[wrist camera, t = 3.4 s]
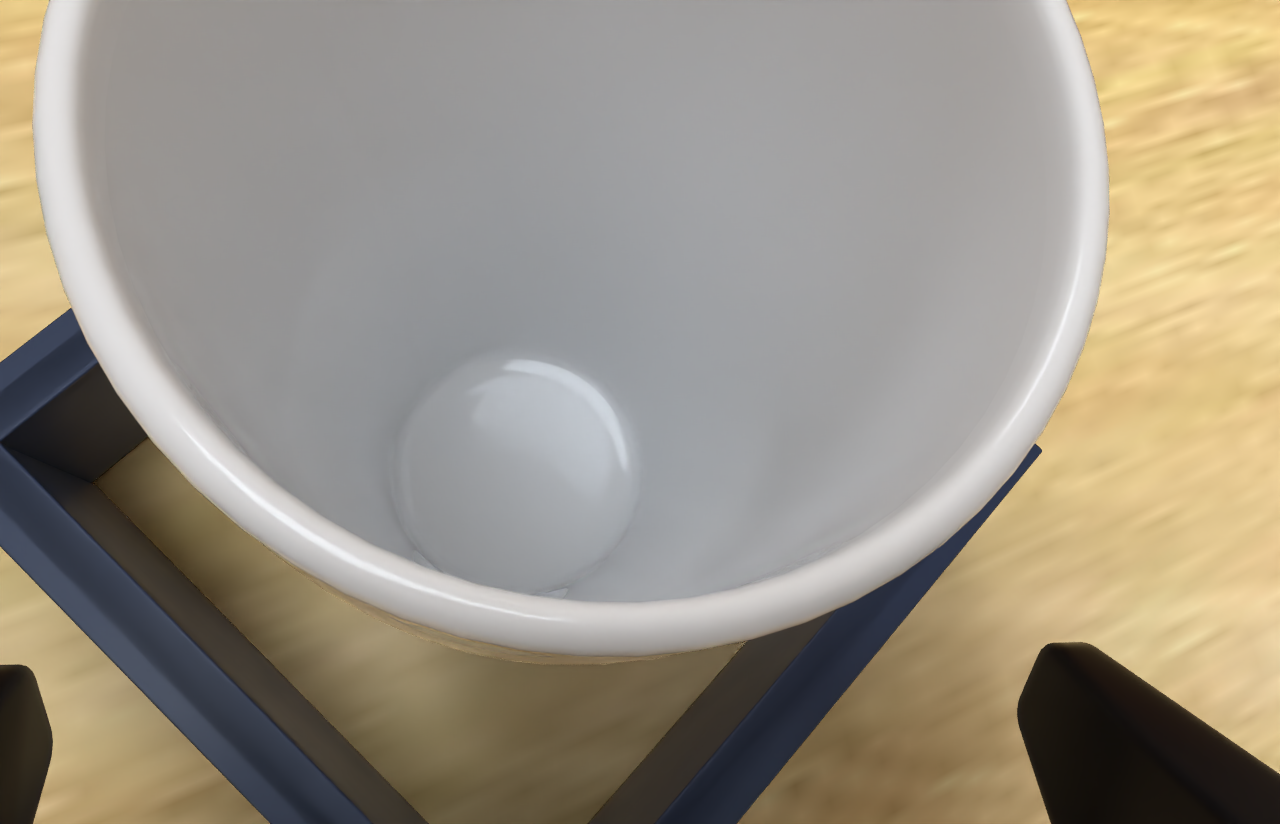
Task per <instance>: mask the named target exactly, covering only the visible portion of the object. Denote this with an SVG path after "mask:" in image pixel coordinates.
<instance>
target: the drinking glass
mask: <svg viewBox="0 0 1280 824" xmlns="http://www.w3.org/2000/svg"><path fill="white" fill-rule="evenodd" d="M32 129H33V143H34V157H35V171H36V182H37V188H38V193H39V198H40V203H41V209H42V214H43V219H44V224H45V230H46V235H47V238H48V241H49V245H50V248H51V251H52V254H53V257H54V261H55V264H56V267H57V270H58V273H59V277H60V280H61V283H62V286H63V289H64V292H65V294H66V296H67V299H68V301H69V303H70V305H71V308H72V310H73V312H74V314H75V317H76V319H77V321H78V323H79V326H80V328H81V330H82V332H83V335H84V337H85V339H86V341H87V344H88V345H89V347H90V349H91V351H92V352H93V354H94V356H95V357H96V359H97V361H98V363H99V364H100V366H101V368H102V369H103V371H104V373H105V375H106V376H107V378H108V380H109V381H110V383H111V385H112V386H113V388H114V390H115V392H116V393H117V395H118V396H119V398H120V399H121V400H122V402H123V403H124V404H125V406H126V407H127V408H128V410H129V411H130V413H131V414H132V415H133V417H134V418H135V419H136V421H137V422H138V423H139V425H140V426H141V427H142V429H143V430H144V431H145V433H146V434H147V435H148V437H149V438H150V439H151V441H152V442H153V443H154V445H155V446H156V447H157V448H158V449H159V450H160V451H161V452H162V453H163V454H164V455H165V456H166V458H167V459H168V460H169V461H170V462H171V463H172V464H173V465H174V466H175V467H176V468H177V469H178V471H179V472H180V473H181V474H182V475H183V476H184V477H185V478H186V479H187V480H188V481H189V482H190V484H191V485H192V486H193V487H194V488H195V489H196V490H197V491H199V492H200V493H201V494H202V495H203V496H204V497H205V498H207V499H208V500H209V501H210V502H211V503H212V504H213V505H215V506H216V507H217V508H218V509H219V510H220V511H221V512H223V513H224V514H225V515H226V516H227V517H228V518H229V519H231V520H232V521H233V522H234V523H235V524H236V525H237V526H239V527H240V528H241V529H242V530H244V531H245V532H247V533H248V534H249V535H251V536H252V537H254V538H255V539H256V540H258V541H259V542H260V543H262V544H263V545H264V546H265V547H266V548H267V549H268V550H270V551H271V552H272V553H273V554H275V555H276V556H277V557H278V558H280V559H281V560H282V561H284V562H285V563H287V564H288V565H289V566H291V567H292V568H294V569H295V570H297V571H298V572H299V573H301V574H302V575H304V576H305V577H306V578H308V579H309V580H311V581H312V582H314V583H315V584H316V585H318V586H319V587H321V588H322V589H323V590H325V591H326V592H328V593H330V594H331V595H333V596H335V597H337V598H339V599H340V600H342V601H344V602H346V603H347V604H349V605H351V606H353V607H355V608H356V609H358V610H360V611H362V612H363V613H365V614H367V615H369V616H371V617H372V618H374V619H376V620H378V621H381V622H383V623H385V624H388V625H390V626H392V627H395V628H397V629H399V630H402V631H404V632H406V633H408V634H411V635H413V636H415V637H418V638H421V639H424V640H427V641H431V642H434V643H437V644H440V645H443V646H446V647H449V648H453V649H456V650H459V651H463V652H468V653H473V654H477V655H482V656H487V657H492V658H497V659H501V660H508V661H518V662H527V663H537V664H546V665H602V664H612V663H622V662H632V661H642V660H651V659H657V658H662V657H667V656H672V655H677V654H682V653H687V652H693V651H699V650H704V649H709V648H714V647H719V646H724V645H729V644H734V643H739V642H744V641H748V640H753V639H756V638H759V637H762V636H765V635H769V634H772V633H775V632H778V631H781V630H784V629H788V628H791V627H794V626H797V625H800V624H803V623H806V622H808V621H811V620H813V619H815V618H817V617H820V616H822V615H824V614H827V613H829V612H831V611H833V610H836V609H838V608H840V607H843V606H845V605H847V604H849V603H852V602H854V601H856V600H858V599H859V598H861V597H863V596H865V595H867V594H868V593H870V592H872V591H874V590H875V589H877V588H879V587H881V586H882V585H884V584H886V583H888V582H889V581H891V580H893V579H895V578H896V577H898V576H900V575H901V574H903V573H904V572H905V571H907V570H908V569H910V568H911V567H912V566H914V565H915V564H917V563H918V562H919V561H921V560H922V559H923V558H925V557H926V556H928V555H929V554H930V553H932V552H933V551H934V550H936V549H937V548H939V547H940V546H941V545H943V544H944V543H945V542H946V541H947V540H948V539H950V538H951V537H952V536H953V535H954V534H955V533H956V532H957V531H958V530H959V529H961V528H962V527H963V526H964V525H965V524H966V523H967V522H968V521H969V520H971V519H972V518H973V517H974V516H975V515H976V514H977V513H978V512H979V511H980V510H981V509H982V508H983V507H984V506H985V505H986V504H987V503H988V502H989V500H990V499H991V498H992V497H993V496H994V495H995V494H996V493H997V491H998V490H999V489H1000V488H1001V487H1002V486H1003V485H1004V484H1005V482H1006V481H1007V480H1008V479H1009V478H1010V477H1011V476H1012V475H1013V473H1014V472H1015V471H1016V469H1017V468H1018V467H1019V465H1020V464H1021V462H1022V461H1023V459H1024V458H1025V457H1026V455H1027V454H1028V452H1029V451H1030V450H1031V448H1032V447H1033V445H1034V444H1035V443H1036V441H1037V440H1038V438H1039V437H1040V435H1041V434H1042V433H1043V431H1044V429H1045V427H1046V425H1047V424H1048V422H1049V420H1050V418H1051V416H1052V415H1053V413H1054V411H1055V409H1056V407H1057V406H1058V404H1059V402H1060V400H1061V398H1062V397H1063V395H1064V393H1065V391H1066V389H1067V387H1068V384H1069V382H1070V380H1071V377H1072V375H1073V372H1074V370H1075V368H1076V365H1077V363H1078V361H1079V358H1080V356H1081V353H1082V351H1083V349H1084V346H1085V342H1086V339H1087V336H1088V332H1089V329H1090V326H1091V322H1092V319H1093V316H1094V313H1095V309H1096V306H1097V302H1098V297H1099V292H1100V286H1101V281H1102V276H1103V271H1104V265H1105V260H1106V250H1107V238H1108V226H1109V215H1110V206H1109V164H1108V156H1107V147H1106V138H1105V129H1104V122H1103V117H1102V113H1101V108H1100V103H1099V98H1098V94H1097V89H1096V84H1095V80H1094V76H1093V73H1092V70H1091V67H1090V63H1089V60H1088V57H1087V54H1086V50H1085V47H1084V44H1083V41H1082V37H1081V35H1080V33H1079V30H1078V28H1077V25H1076V23H1075V20H1074V18H1073V15H1072V13H1071V10H1070V8H1069V6H1068V3H1067V1H1066V0H49V3H48V6H47V10H46V13H45V17H44V20H43V26H42V32H41V38H40V44H39V50H38V56H37V62H36V68H35V77H34V98H33V119H32Z"/></svg>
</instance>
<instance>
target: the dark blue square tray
mask: <svg viewBox="0 0 1280 824" xmlns="http://www.w3.org/2000/svg"><path fill="white" fill-rule="evenodd" d="M146 437H148V435H147V434H146V433H145V431H144V430H143V429H142V427H141V426H140V425H139V423H138V422H137V421H136V419H135V418H134V417H133V415H132V414H131V413H130V411H129V410H128V408H127V407H126V406H125V404H124V403H123V402H122V400H121V399H120V398H119V396H118V395H117V393H116V392H115V390H114V388H113V386H112V385H111V383H110V381H109V380H108V378H107V376H106V375H105V373H104V371H103V369H102V368H101V366H100V364H99V363H98V361H97V359H96V357H95V356H94V354H93V352H92V351H91V349H90V347H89V345H88V344H87V341H86V339H85V337H84V335H83V332H82V330H81V328H80V326H79V323H78V321H77V319H76V317H75V314H74V312H73V310H72V308H70V309H69V310H68V311H66V312H65V313H64V314H63V315H61V316H60V317H59V318H57V319H56V320H55V321H53V322H52V323H51V324H50V325H48V326H47V327H46V328H44V329H43V330H42V331H40V332H39V333H38V334H37V335H35V336H34V337H33V338H31V339H30V340H29V341H28V342H26V343H25V344H24V345H22V346H21V347H20V348H18V349H17V350H16V351H15V352H13V353H12V354H11V355H9V356H8V357H7V358H6V359H4V360H3V361H2V362H0V547H1V548H2V549H3V550H4V551H5V552H6V553H7V554H8V555H9V556H10V557H11V558H12V559H13V560H14V561H15V562H16V563H17V564H18V565H19V566H20V567H21V568H22V569H23V570H24V571H25V572H26V573H27V574H28V575H29V576H30V577H31V578H32V580H33V581H34V582H35V583H36V584H37V585H38V586H39V587H40V588H41V589H42V590H43V591H44V592H45V593H46V594H47V595H48V596H49V597H50V598H51V599H52V600H53V601H54V602H55V603H56V604H57V605H58V606H59V607H60V608H61V609H62V610H63V611H64V612H65V613H66V614H67V615H68V616H69V617H70V619H71V620H72V621H73V622H74V623H75V624H76V625H77V626H78V627H79V628H80V629H81V630H82V631H83V632H84V633H85V634H86V635H87V636H88V637H89V638H90V639H91V640H92V641H93V642H94V643H95V644H96V645H97V646H98V647H99V648H100V649H101V650H102V651H103V652H104V653H105V654H106V655H107V656H108V658H109V659H110V660H111V661H112V662H113V663H114V664H115V665H116V666H117V667H118V668H119V669H120V670H121V671H122V672H123V673H124V674H125V675H126V676H127V677H128V678H129V679H130V680H131V681H132V682H133V683H134V684H135V685H136V686H137V687H138V688H139V689H140V690H141V691H142V692H143V693H144V694H145V695H146V697H147V698H148V699H149V700H150V701H151V702H152V703H153V704H154V705H155V706H156V707H157V708H158V709H159V710H160V711H161V712H162V713H163V714H164V715H165V716H166V717H167V718H168V719H169V720H170V721H171V722H172V723H173V724H174V725H175V726H176V727H177V728H178V729H179V730H180V731H181V732H182V733H183V734H184V736H185V737H186V738H187V739H188V740H189V741H190V742H191V743H192V744H193V745H194V746H195V747H196V748H197V749H198V750H199V751H200V752H201V753H202V754H203V755H204V756H205V757H206V758H207V759H208V760H209V761H210V762H211V763H212V764H213V765H214V766H215V767H216V768H217V769H218V770H219V771H220V772H221V773H222V775H223V776H224V777H225V778H226V779H227V780H228V781H229V782H230V783H231V784H232V785H233V786H234V787H235V788H236V789H237V790H238V791H239V792H240V793H241V794H242V795H243V796H244V797H245V798H246V799H247V800H248V801H249V802H250V803H251V804H252V805H253V806H254V807H255V808H256V809H257V810H258V811H259V812H260V814H261V815H262V816H263V817H264V818H265V819H266V820H267V821H268V822H269V823H270V824H429V823H428V822H427V821H426V820H425V819H424V818H423V817H422V816H421V815H420V814H419V813H418V812H417V811H416V810H415V809H414V808H413V807H412V806H411V805H410V804H409V803H408V802H407V801H406V800H405V799H404V798H403V797H402V796H401V795H400V794H399V793H398V792H397V791H396V790H395V789H394V788H393V787H392V786H391V785H390V784H389V783H388V782H387V781H386V780H385V779H384V778H383V777H382V776H381V775H380V774H379V773H378V772H377V771H376V770H375V769H374V768H373V767H372V766H371V765H370V764H369V762H368V761H367V760H366V759H365V758H364V757H363V756H362V755H361V754H360V753H359V752H358V751H357V750H356V749H355V748H354V747H353V746H352V745H351V744H350V743H349V742H348V741H347V740H346V739H345V738H344V737H343V736H342V735H341V734H340V733H339V732H338V731H337V730H336V729H335V728H334V727H333V726H332V725H331V724H330V723H329V722H328V721H327V720H326V719H325V718H324V717H323V716H322V715H321V714H320V713H319V712H318V711H317V710H316V709H315V708H314V707H313V706H312V705H311V704H310V703H309V702H308V701H307V699H306V698H305V697H304V696H303V695H302V694H301V693H300V692H299V691H298V690H297V689H296V688H295V687H294V686H293V685H292V684H291V683H290V682H289V681H288V680H287V679H286V678H285V677H284V676H283V675H282V674H281V673H280V672H279V671H278V670H277V669H276V668H275V667H274V666H273V665H272V664H271V663H270V662H269V661H268V660H267V659H266V658H265V657H264V656H263V655H262V654H261V653H260V652H259V651H258V650H257V649H256V648H255V647H254V646H253V645H252V644H251V643H250V642H249V641H248V640H247V639H246V638H245V637H244V635H243V634H242V633H241V632H240V631H239V630H238V629H237V628H236V627H235V626H234V625H233V624H232V623H231V622H230V621H229V620H228V619H227V618H226V617H225V616H224V615H223V614H222V613H221V612H220V611H219V610H218V609H217V608H216V607H215V606H214V605H213V604H212V603H211V602H210V601H209V600H208V599H207V598H206V597H205V596H204V595H203V594H202V593H201V592H200V591H199V590H198V589H197V588H196V587H195V586H194V585H193V584H192V583H191V582H190V581H189V580H188V579H187V578H186V577H185V576H184V575H183V574H182V572H181V571H180V570H179V569H178V568H177V567H176V566H175V565H174V564H173V563H172V562H171V561H170V560H169V559H168V558H167V557H166V556H165V555H164V554H163V553H162V552H161V551H160V550H159V549H158V548H157V547H156V546H155V545H154V544H153V543H152V542H151V541H150V540H149V539H148V538H147V537H146V536H145V535H144V534H143V533H142V532H141V531H140V530H139V529H138V528H137V527H136V526H135V525H134V524H133V523H132V522H131V521H130V520H129V519H128V518H127V517H126V516H125V515H124V514H123V513H122V512H121V511H120V509H119V508H118V507H117V506H116V505H115V504H114V503H113V502H112V501H111V500H110V499H109V498H108V497H107V496H106V495H105V494H104V493H103V492H102V491H101V490H100V489H99V488H98V487H97V486H96V485H94V484H92V483H93V482H94V481H95V480H96V479H97V478H99V477H100V476H101V475H102V474H103V473H105V472H106V471H107V470H108V469H109V468H111V467H112V466H113V465H114V464H115V463H117V462H118V461H119V460H120V459H121V458H123V457H124V456H125V455H126V454H127V453H128V452H130V451H131V450H132V449H133V448H134V447H136V446H137V445H138V444H139V443H140V442H142V441H143V440H144V439H145V438H146ZM1041 452H1042V449H1041V448H1040V447H1038V446H1037V445H1036V444H1034V445H1033V447H1032V448H1031V450H1030V451H1029V452H1028V454H1027V455H1026V457H1025V458H1024V459H1023V461H1022V462H1021V464H1020V465H1019V467H1018V468H1017V469H1016V471H1015V472H1014V473H1013V475H1012V476H1011V477H1010V478H1009V479H1008V480H1007V481H1006V482H1005V484H1004V485H1003V486H1002V487H1001V488H1000V489H999V490H998V491H997V493H996V494H995V495H994V496H993V497H992V498H991V499H990V500H989V502H988V503H987V504H986V505H985V506H984V507H983V508H982V509H981V510H980V511H979V512H978V513H977V514H976V515H975V516H974V517H973V518H972V519H971V520H969V521H968V522H967V523H966V524H965V525H964V526H963V527H962V528H961V529H959V530H958V531H957V532H956V533H955V534H954V535H953V536H952V537H951V538H950V539H948V540H947V541H946V542H945V543H944V544H943V545H941V546H940V547H939V548H937V549H936V550H934V551H933V552H932V553H930V554H929V555H928V556H926V557H925V558H923V559H922V560H921V561H919V562H918V563H917V564H915V565H914V566H912V567H911V568H910V569H908V570H907V571H905V572H904V573H903V574H901V575H900V576H898V577H896V578H895V579H893V580H891V581H889V582H888V583H886V584H884V585H882V586H881V587H879V588H877V589H875V590H874V591H872V592H870V593H868V594H867V595H865V596H863V597H861V598H859V599H858V600H856V601H854V602H852V603H849V604H847V605H845V606H843V607H840V608H838V609H836V610H833V611H831V612H829V613H827V614H824V615H822V616H820V617H817V618H815V619H813V620H811V621H808V622H806V623H803V624H800V625H797V626H794V627H791V628H788V629H784V630H781V631H778V632H775V633H772V634H769V635H765V636H762V637H759V638H756V639H753V640H748V641H747V642H746V643H745V645H744V646H743V647H742V648H741V649H740V650H739V651H738V653H737V654H736V655H735V656H734V657H733V658H732V659H731V661H730V662H729V663H728V664H727V665H726V666H725V667H724V669H723V670H722V671H721V672H720V673H719V674H718V675H717V677H716V678H715V679H714V680H713V681H712V682H711V683H710V685H709V686H708V687H707V688H706V689H705V690H704V691H703V693H702V694H701V695H700V696H699V697H698V698H697V699H696V701H695V702H694V703H693V704H692V705H691V706H690V708H689V709H688V710H687V711H686V712H685V713H684V714H683V716H682V717H681V718H680V719H679V720H678V721H677V722H676V724H675V725H674V726H673V727H672V728H671V729H670V730H669V732H668V733H667V734H666V735H665V736H664V737H663V738H662V740H661V741H660V742H659V743H658V744H657V745H656V746H655V748H654V749H653V750H652V751H651V752H650V753H649V754H648V756H647V757H646V758H645V759H644V760H643V761H642V762H641V764H640V765H639V766H638V767H637V768H636V769H635V770H634V772H633V773H632V774H631V775H630V776H629V777H628V778H627V780H626V781H625V782H624V783H623V784H622V785H621V786H620V788H619V789H618V790H617V791H616V792H615V793H614V794H613V796H612V797H611V798H610V799H609V800H608V801H607V802H606V804H605V805H604V806H603V807H602V808H601V809H600V810H599V812H598V813H597V814H596V815H595V816H594V817H593V818H592V820H591V821H590V822H589V823H588V824H737V823H738V821H739V820H740V819H741V818H742V816H743V815H744V814H745V813H746V812H747V810H748V809H749V808H750V807H751V805H752V804H753V803H754V802H755V801H756V799H757V798H758V797H759V796H760V795H761V793H762V792H763V791H764V790H765V788H766V787H767V786H768V785H769V784H770V782H771V781H772V780H773V779H774V777H775V776H776V775H777V774H778V773H779V771H780V770H781V769H782V768H783V767H784V765H785V764H786V763H787V762H788V760H789V759H790V758H791V757H792V756H793V754H794V753H795V752H796V751H797V749H798V748H799V747H800V746H801V745H802V743H803V742H804V741H805V740H806V739H807V737H808V736H809V735H810V734H811V732H812V731H813V730H814V729H815V728H816V726H817V725H818V724H819V723H820V721H821V720H822V719H823V718H824V717H825V715H826V714H827V713H828V712H829V710H830V709H831V708H832V707H833V706H834V704H835V703H836V702H837V701H838V700H839V698H840V697H841V696H842V695H843V693H844V692H845V691H846V690H847V689H848V687H849V686H850V685H851V684H852V682H853V681H854V680H855V679H856V678H857V676H858V675H859V674H860V673H861V672H862V670H863V669H864V668H865V667H866V665H867V664H868V663H869V662H870V661H871V659H872V658H873V657H874V656H875V654H876V653H877V652H878V651H879V650H880V648H881V647H882V646H883V645H884V644H885V642H886V641H887V640H888V639H889V637H890V636H891V635H892V634H893V633H894V631H895V630H896V629H897V628H898V626H899V625H900V624H901V623H902V622H903V620H904V619H905V618H906V617H907V616H908V614H909V613H910V612H911V611H912V609H913V608H914V607H915V606H916V605H917V603H918V602H919V601H920V600H921V598H922V597H923V596H924V595H925V594H926V592H927V591H928V590H929V589H930V587H931V586H932V585H933V584H934V583H935V581H936V580H937V579H938V578H939V577H940V575H941V574H942V573H943V572H944V570H945V569H946V568H947V567H948V566H949V564H950V563H951V562H952V561H953V559H954V558H955V557H956V556H957V555H958V553H959V552H960V551H961V550H962V549H963V547H964V546H965V545H966V544H967V542H968V541H969V540H970V539H971V538H972V536H973V535H974V534H975V533H976V531H977V530H978V529H979V528H980V527H981V525H982V524H983V523H984V522H985V521H986V519H987V518H988V517H989V516H990V514H991V513H992V512H993V511H994V510H995V508H996V507H997V506H998V505H999V503H1000V502H1001V501H1002V500H1003V499H1004V497H1005V496H1006V495H1007V494H1008V492H1009V491H1010V490H1011V489H1012V488H1013V486H1014V485H1015V484H1016V483H1017V482H1018V480H1019V479H1020V478H1021V477H1022V475H1023V474H1024V473H1025V472H1026V471H1027V469H1028V468H1029V467H1030V466H1031V464H1032V463H1033V462H1034V461H1035V460H1036V458H1037V457H1038V456H1039V455H1040V454H1041Z"/></svg>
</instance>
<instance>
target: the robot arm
mask: <svg viewBox="0 0 1280 824" xmlns="http://www.w3.org/2000/svg"><path fill="white" fill-rule="evenodd" d="M1017 717H1018V724H1019V728H1020V731H1021V734H1022V737H1023V740H1024V743H1025V746H1026V749H1027V752H1028V755H1029V758H1030V762H1031V765H1032V768H1033V771H1034V774H1035V777H1036V780H1037V783H1038V786H1039V789H1040V792H1041V795H1042V798H1043V801H1044V804H1045V807H1046V810H1047V813H1048V816H1049V819H1050V822H1051V824H1280V774H1279V773H1277V772H1276V771H1274V770H1273V769H1271V768H1270V767H1269V766H1267V765H1266V764H1264V763H1263V762H1261V761H1260V760H1258V759H1257V758H1255V757H1254V756H1253V755H1251V754H1250V753H1248V752H1247V751H1245V750H1244V749H1242V748H1241V747H1240V746H1238V745H1237V744H1235V743H1234V742H1232V741H1231V740H1229V739H1228V738H1226V737H1225V736H1224V735H1222V734H1221V733H1219V732H1218V731H1216V730H1215V729H1213V728H1212V727H1211V726H1209V725H1208V724H1206V723H1205V722H1203V721H1202V720H1200V719H1199V718H1198V717H1196V716H1195V715H1193V714H1192V713H1190V712H1189V711H1187V710H1186V709H1184V708H1183V707H1182V706H1180V705H1179V704H1177V703H1176V702H1174V701H1173V700H1171V699H1170V698H1169V697H1167V696H1166V695H1164V694H1163V693H1161V692H1160V691H1158V690H1157V689H1155V688H1154V687H1153V686H1151V685H1150V684H1148V683H1147V682H1145V681H1144V680H1142V679H1141V678H1140V677H1138V676H1137V675H1135V674H1134V673H1132V672H1131V671H1129V670H1128V669H1127V668H1125V667H1124V666H1122V665H1121V664H1119V663H1118V662H1116V661H1115V660H1113V659H1112V658H1111V657H1109V656H1108V655H1106V654H1105V653H1103V652H1102V651H1100V650H1099V649H1097V648H1096V647H1094V646H1093V645H1090V644H1088V643H1083V642H1071V643H1050V644H1047V645H1046V646H1045V647H1044V648H1042V649H1041V651H1040V652H1039V654H1038V656H1037V659H1036V661H1035V663H1034V666H1033V668H1032V670H1031V673H1030V675H1029V677H1028V680H1027V682H1026V684H1025V686H1024V689H1023V691H1022V693H1021V696H1020V698H1019V701H1018V708H1017ZM52 746H53V739H52V731H51V727H50V724H49V720H48V717H47V714H46V710H45V707H44V704H43V700H42V697H41V694H40V691H39V687H38V684H37V681H36V678H35V676H34V673H33V672H32V671H31V670H30V668H28V667H27V666H23V665H0V824H33V822H34V818H35V814H36V811H37V807H38V804H39V800H40V797H41V793H42V790H43V786H44V782H45V779H46V775H47V772H48V768H49V765H50V760H51V755H52Z"/></svg>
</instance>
